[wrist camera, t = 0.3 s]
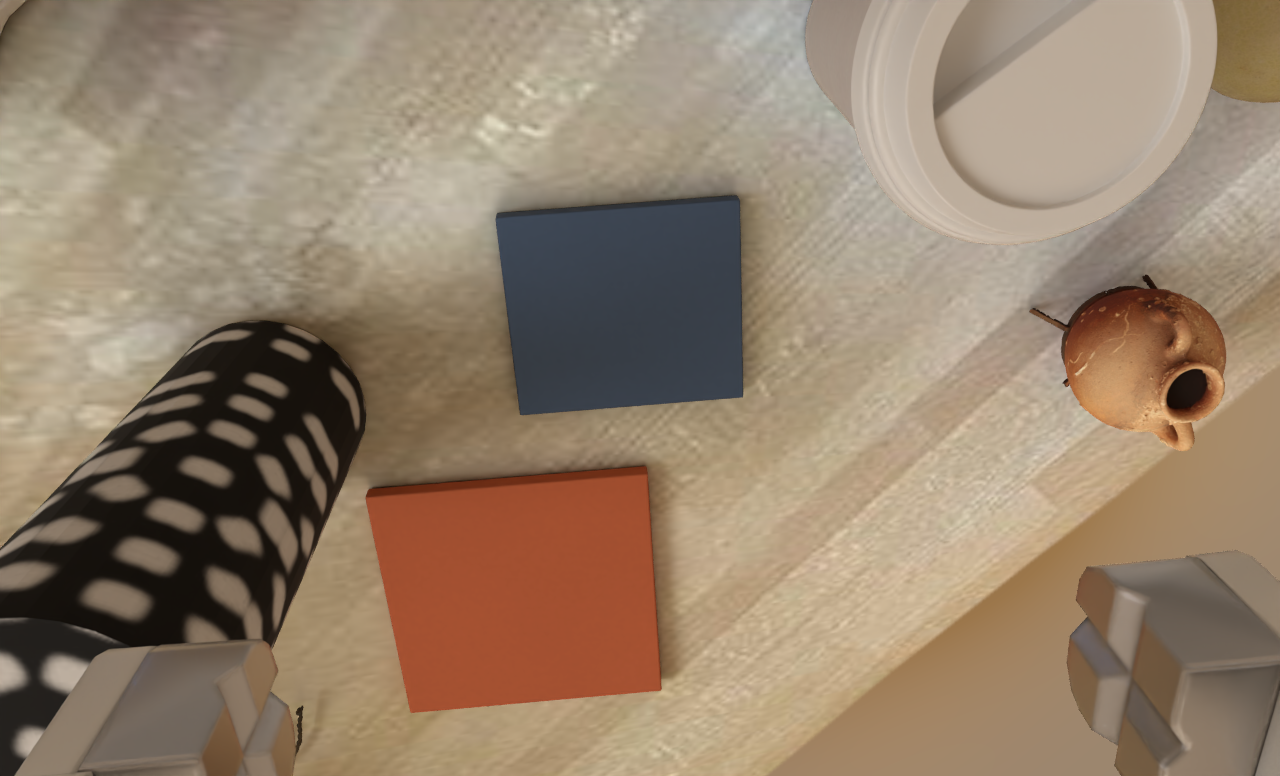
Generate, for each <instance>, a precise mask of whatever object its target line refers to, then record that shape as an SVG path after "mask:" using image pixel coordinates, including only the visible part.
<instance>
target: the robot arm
mask: <svg viewBox="0 0 1280 776" xmlns="http://www.w3.org/2000/svg"><path fill="white" fill-rule="evenodd" d="M25 1H26V0H0V35H1V32H2V30H3V27H4V25H5V23H6V22H7V20H8V18H9V16H10V15H11V14H12V13H14V12H15V11H16V10H17V9H18V8H19V7H20V6H21V5H22V4H23V3H24V2H25ZM1076 601H1077V603H1078V604H1079V605H1080V607H1081V608H1082V609H1083V611H1084V612H1085V613H1086V615H1087V616H1088V617H1087V618H1086V619H1085V620H1084V621H1083V622H1082V623H1081V624H1080V625H1079V626H1078V627H1077V629H1076V630H1075V631H1074V632H1073V633H1072V634H1071V635H1070V639H1069V647H1068V656H1067V667H1068V674H1069V680H1070V686H1071V691H1072V693H1073V696H1074V698H1075V701H1076V703H1077V706H1078V708H1079V711H1080V712H1081V714H1082V715H1083V717H1084V719H1085V720H1086V722H1087V723H1088V725H1089V727H1090V728H1091V730H1093V731H1094V732H1096V733H1098V734H1099V735H1101V736H1103V737H1105V738H1106V739H1108V740H1109V741H1111V742H1113V743H1114V744H1116V745H1118V749H1117V754H1116V759H1115V764H1114V766H1115V767H1116V769H1117V770H1118V771H1119V773H1120V775H1121V776H1280V581H1279V580H1277V579H1276V578H1275V577H1274V576H1273V575H1272V574H1271V573H1270V572H1269V571H1268V570H1267V569H1265V568H1264V567H1263V566H1262V565H1261V564H1260V563H1259V562H1258V561H1257V560H1255V558H1253V557H1252V556H1250V555H1248V554H1245V553H1243V552H1240V551H1237V550H1234V551H1225V552H1217V553H1207V554H1199V555H1191V556H1186V557H1185V558H1176V559H1164V560H1154V561H1143V562H1132V563H1121V564H1112V565H1111V564H1110V565H1100V566H1089V567H1086V569H1085V571H1084V573H1083V574H1082V576H1081V578H1080V579H1079V585H1078V590H1077V596H1076ZM277 672H278V668H277V665H276V662H275V659H274V656H273V653H272V650H271V648H270V645H269V644H268V643H266V642H265V641H263V640H261V639H260V638H259V639H244V640H229V641H213V642H198V643H183V644H168V645H160V646H158V647H157V646H146V647H133V648H119V649H108V650H107V651H105V652H103V653H101V654H99V655H97V656H95V658H94V659H93V660H92V661H91V663H90V664H89V666H88V667H87V669H86V670H85V672H84V673H83V675H82V676H81V678H80V679H79V681H78V682H77V684H76V685H75V687H74V688H73V690H72V691H71V693H70V694H69V696H68V697H67V699H66V700H65V701H64V703H63V704H62V706H61V707H60V709H59V710H58V712H57V713H56V715H55V716H54V718H53V719H52V721H51V722H50V724H49V725H48V727H47V728H46V730H45V731H44V733H43V734H42V736H41V737H40V739H39V740H38V742H37V743H36V744H35V746H34V747H33V749H32V750H31V752H30V753H29V755H28V756H27V758H26V759H25V761H24V762H23V764H22V765H21V767H20V768H19V770H18V771H17V773H16V774H15V776H293V771H294V762H295V752H296V745H295V734H294V725H293V721H292V717H291V714H290V710H289V706H288V705H287V704H286V703H284V702H283V701H282V700H281V699H279V698H278V697H277V696H275V695H274V694H273V693H272V692H270V690H271V688H272V685H273V683H274V680H275V678H276V675H277Z"/></svg>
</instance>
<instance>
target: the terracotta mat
mask: <svg viewBox="0 0 1280 776" xmlns="http://www.w3.org/2000/svg"><path fill="white" fill-rule="evenodd" d="M366 503H367V507H368V512H369V517H370V522H371V527H372V531H373V536H374V541H375V546H376V550H377V555H378V560H379V565H380V569H381V574H382V579H383V584H384V588H385V593H386V598H387V603H388V608H389V612H390V617H391V622H392V627H393V631H394V636H395V641H396V646H397V650H398V655H399V660H400V665H401V669H402V674H403V679H404V684H405V688H406V693H407V698H408V703H409V708H410V712H411V713H415V712H427V711H438V710H449V709H460V708H471V707H482V706H493V705H505V704H516V703H527V702H538V701H549V700H560V699H571V698H583V697H594V696H605V695H616V694H627V693H638V692H649V691H660V690H661V689H662V688H661V672H660V657H659V641H658V626H657V611H656V595H655V580H654V564H653V549H652V534H651V518H650V503H649V487H648V473H647V467H646V466H642V467H630V468H618V469H606V470H594V471H582V472H569V473H557V474H545V475H533V476H521V477H509V478H497V479H485V480H473V481H460V482H448V483H436V484H424V485H412V486H400V487H388V488H376V489H369V490H368V492H367V495H366Z"/></svg>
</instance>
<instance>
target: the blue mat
mask: <svg viewBox="0 0 1280 776" xmlns="http://www.w3.org/2000/svg"><path fill="white" fill-rule="evenodd" d="M496 227H497V235H498V243H499V251H500V259H501V267H502V275H503V283H504V290H505V298H506V306H507V314H508V322H509V330H510V338H511V346H512V354H513V362H514V370H515V378H516V386H517V394H518V402H519V410H520V415H530V414H542V413H555V412H567V411H579V410H592V409H604V408H617V407H629V406H641V405H654V404H666V403H678V402H691V401H703V400H716V399H728V398H740V397H743V357H742V294H741V232H740V200H739V198H738V196H736V195H734V196H720V197H707V198H694V199H680V200H667V201H653V202H640V203H626V204H613V205H599V206H586V207H572V208H559V209H545V210H532V211H519V212H505V213H497V215H496Z"/></svg>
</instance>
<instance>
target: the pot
mask: <svg viewBox="0 0 1280 776" xmlns="http://www.w3.org/2000/svg"><path fill="white" fill-rule="evenodd" d="M1143 280H1144V282H1146V283H1147V285H1148V286H1149V287H1150V289H1144V288H1140V287H1136V286H1123V287H1117V288H1115V289H1110V290H1108V291H1104V292H1101V293H1099V294H1096V295H1095V296H1093V297H1091V298H1090V299H1089V300H1087V301H1086V302H1085V303H1083V304H1082V305H1081V306H1080V307H1079V308H1078V309H1077V311H1076V312H1075V313H1074V314H1073V315H1072V317H1071V319H1070V320H1069V322H1068V325H1065V324H1063V323H1062V322H1060V321H1058V320H1056V319H1054V320H1053V319H1052V318H1050V316H1046V314H1044V313H1043V312H1040V311H1039V310H1036V309H1035V308H1033V309H1032V310H1030V311H1029V312H1031V313H1032V314H1034V315H1036V316H1038V317H1040V318H1042V319H1044V320H1045V321H1047V322H1049V323H1051V324H1053V325H1055V326H1056V327H1058V328H1060V329H1062V330H1063V331H1065V332H1064V335H1063V337H1062V346H1061V353H1062V359H1063V362H1064V365H1065V367H1066V373H1067V377H1068V379H1066V380H1065V381H1064V382H1063V384H1064V385H1065V386H1066V387H1068V386H1069V384H1070V386H1071V388H1072V391H1073V393H1074V395H1075V396H1076V398H1077V399H1078V401H1079V402H1080V406H1082V407H1083V408H1084V409H1085V410H1086V411H1088V412H1089V413H1090V414H1092V415H1093V416H1094V417H1096V419H1099V420H1100V421H1102V422H1104V423H1106V424H1107V425H1110V426H1113V427H1115V428H1119V429H1120V430H1121V429H1123V430H1128V431H1135V432H1152V433H1154V434H1155V435H1157V436H1158V437H1159V438H1160V441H1161V442H1163V443H1165V444H1166V445H1167V446H1168V447H1173V448H1175V449H1177V450H1180V451H1187V450H1189V449H1190V448H1191V447H1192V446H1193V444H1194V439H1195V438H1194V432H1193V428H1192V424H1191V422H1193V421H1198V420H1199V419H1201V418H1204V417H1206V416H1207V415H1209V414H1210V413H1211V412H1212V411H1213V410H1214V409H1215V408H1216V407H1217V406H1218V404H1219V403H1220V401H1221V400H1222V397H1223V395H1224V389H1225V382H1224V379H1223V373H1224V370H1225V364H1226V348H1225V343H1224V339H1223V335H1222V333H1221V330H1220V328H1219V326H1218V324H1217V323H1216V321H1215V320H1214V318H1213V317H1212V316H1211V315H1210V314H1209V312H1208V311H1206V310H1205V309H1204V308H1203V307H1202V306H1201V305H1199V304H1198V303H1197V302H1195V301H1193V300H1192V299H1189V298H1187V297H1185V296H1183V295H1181V294H1177V293H1174V292H1171V291H1169V290H1164V289H1163V290H1162V289H1158V288H1157V287H1156V286H1155V284H1154V283H1153V281H1152V280H1151V278H1150V277H1149V276H1148V275H1145V276H1143ZM1105 292H1107V293H1105ZM1175 429H1176V430H1175Z"/></svg>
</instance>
